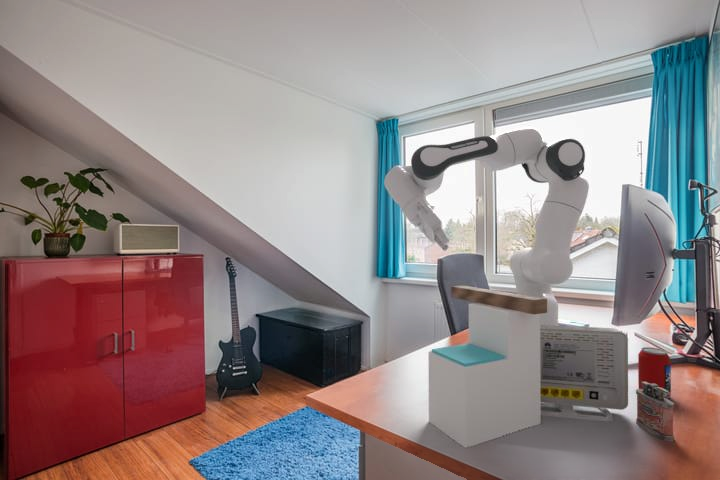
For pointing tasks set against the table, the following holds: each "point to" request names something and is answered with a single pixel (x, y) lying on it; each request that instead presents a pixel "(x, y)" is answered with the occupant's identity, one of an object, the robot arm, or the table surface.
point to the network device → (583, 370)
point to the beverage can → (654, 368)
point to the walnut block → (501, 299)
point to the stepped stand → (487, 377)
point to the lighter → (655, 411)
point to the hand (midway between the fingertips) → (446, 246)
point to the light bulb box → (571, 323)
